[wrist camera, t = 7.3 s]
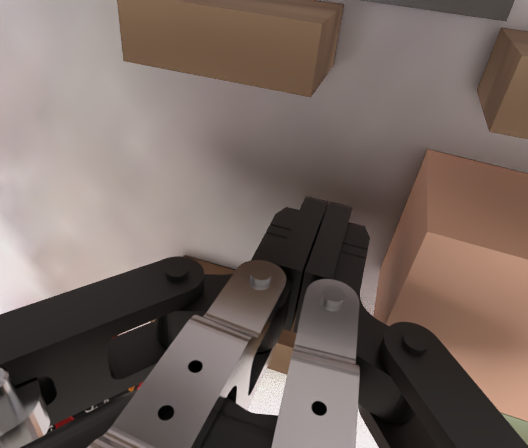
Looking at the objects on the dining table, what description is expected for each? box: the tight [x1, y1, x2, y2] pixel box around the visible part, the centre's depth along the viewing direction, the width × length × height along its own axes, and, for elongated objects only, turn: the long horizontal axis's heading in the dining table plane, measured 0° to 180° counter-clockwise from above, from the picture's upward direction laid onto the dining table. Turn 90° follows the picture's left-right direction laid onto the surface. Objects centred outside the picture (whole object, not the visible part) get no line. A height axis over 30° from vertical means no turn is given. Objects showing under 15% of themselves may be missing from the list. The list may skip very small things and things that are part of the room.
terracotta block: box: [373, 149, 528, 421], centre depth 12 cm, size 5×5×4 cm
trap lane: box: [117, 0, 528, 445], centre depth 13 cm, size 19×16×4 cm
